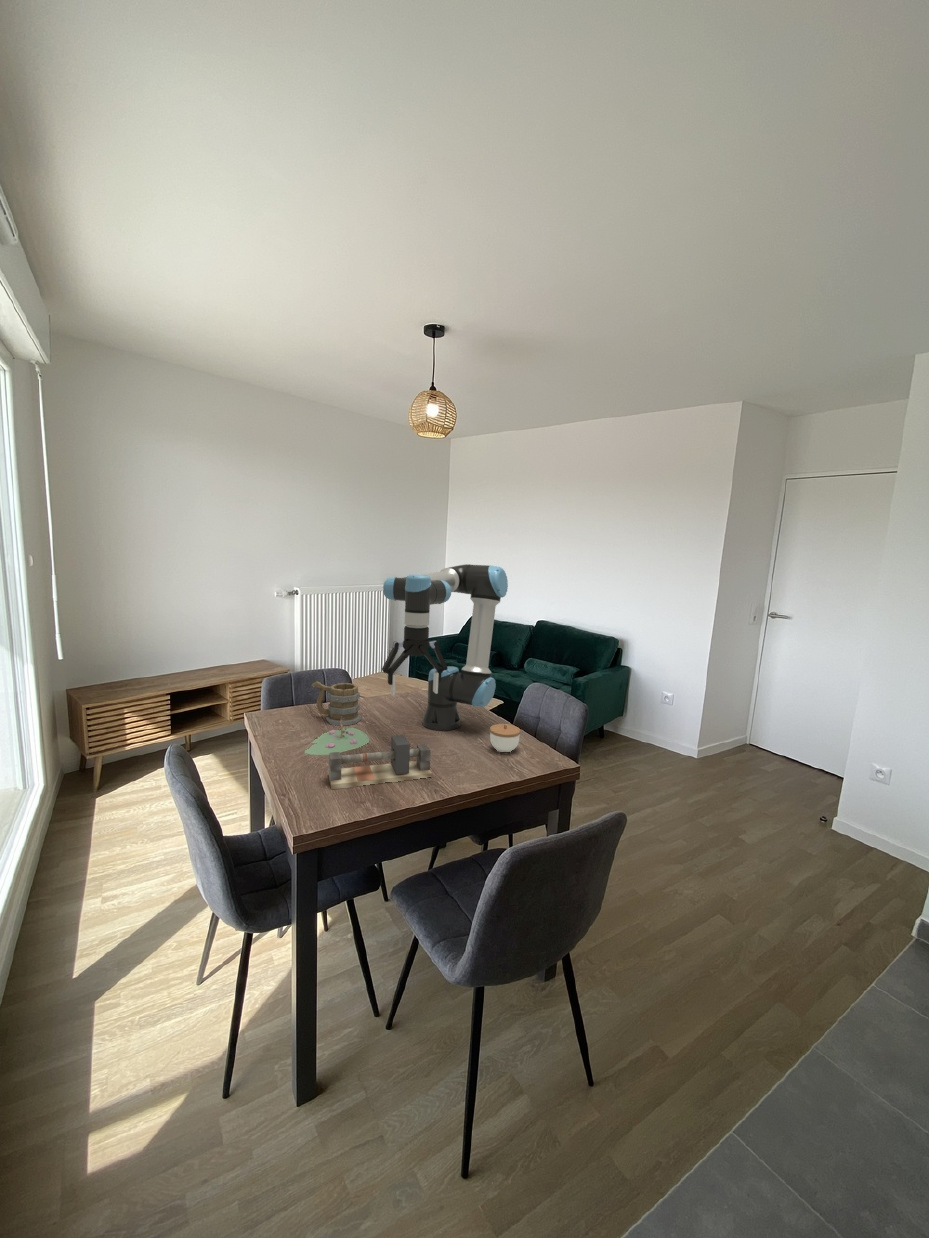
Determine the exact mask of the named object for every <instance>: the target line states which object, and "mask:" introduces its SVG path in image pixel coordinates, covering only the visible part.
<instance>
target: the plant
mask: <svg viewBox="0 0 929 1238" xmlns="http://www.w3.org/2000/svg"><path fill="white" fill-rule="evenodd" d="M341 717H342V716H341ZM342 719H344V718H342ZM342 721H343V720H341V721H340V724H341V725H340V726H337V725H332V727H333V728H337V729H331V730H329V731H327V733H326V732H323V733H324V734H323V733H321V734H322V735H321V736H320V737H318V739H315V738H314V739H315V740H314V739H313V740H314V741H313V740H312V741H313V742H312V741H311V742H310V744H311V743H317V744H314V745H312V746H311V747H310V748H309V749H307V748H306V749H307V750H306V749H305V750H304V754H305V755H308V756H309V755H310V756H329V753H333V752H340V753H343V752H347V751H351V750H354V749H360V748H362V747H361V746H363V745H365V744H366V745H368V744H369V743H370V741H371V740H370V738H369V736H368V734H367V733H365V732H364V731H362V730H360V729H358V728H356V727H346V726H347V725H346V724H345V725H346V726H345V725H343V726H342V723H341V722H342ZM343 722H345V721H343ZM344 726H345V728H344ZM367 743H368V744H367ZM366 745H365V746H366ZM359 747H360V748H359ZM363 747H364V746H363Z"/></svg>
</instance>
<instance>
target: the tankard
mask: <svg viewBox="0 0 929 1238" xmlns="http://www.w3.org/2000/svg"><path fill="white" fill-rule="evenodd" d="M311 686H312V688H313V689H314V688H316V687H317V688H318V689H319V693H318V697H317V699H316V708H317V710H318V713H320V714H321V715H327V716H326V717H325V720H326V722H328V723H329V725H331V726H335V725H336V726H337V727H341V726H340V725H341V724H340V721H341V720H343V721H345V722H343V721H342V722H341V723H342V727H344V726H343V725H345V724H346V725H345V727H346V726H353V725H356V724H357V723H359V722H360V721H361V720H362V716H361V715H360V713H359V711H360V709H361V708H360V704H359V699H360V696H361V692H360V691H359V686H358V685H356V684H355V683H347V682H342V683H341V682H340V683H335V684H332V685H331V686H327V685H325V684H322V683H321V682H320V681H315V682H313V683H312V684H311ZM326 692H328V693H327V698H328V699H329V704H328V705H327V709H326V708H324V706H323V702H324V699H325V695H326ZM341 716H342V717H341ZM342 718H344V719H342ZM352 724H353V725H352Z"/></svg>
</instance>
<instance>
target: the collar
mask: <svg viewBox="0 0 929 1238" xmlns="http://www.w3.org/2000/svg"><path fill="white" fill-rule="evenodd" d="M390 738H391V739H390V740H391V741H390V744H391V745H390V751H395V759H390V763H391V765H392V767H393V769H394V771H395V773H396V774H405V773H409V762H410V761H411V760H410V759H411V757H410V749H411V743H410V742H409V740H408V738H407V737H406V736H405V734H397V735H395V734H394V735H391V737H390Z"/></svg>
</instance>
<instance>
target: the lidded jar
mask: <svg viewBox="0 0 929 1238" xmlns="http://www.w3.org/2000/svg"><path fill="white" fill-rule="evenodd" d="M520 735H521V729H520V728H519V727H517V726H515V725H514V724H507V723H497V724H496V723H495V724H493V725H491V726H490V727H489V740H490V743H491V745H492V747H493V748H494V749H496V750H498V751H500V752H510V753H512V752H513V751H514V750H515V749H516V748H517V747H518V745H519V742H520ZM496 750H495V751H496ZM512 750H513V751H512ZM498 751H497V752H498ZM511 751H512V752H511ZM500 752H499V753H500Z"/></svg>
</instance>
